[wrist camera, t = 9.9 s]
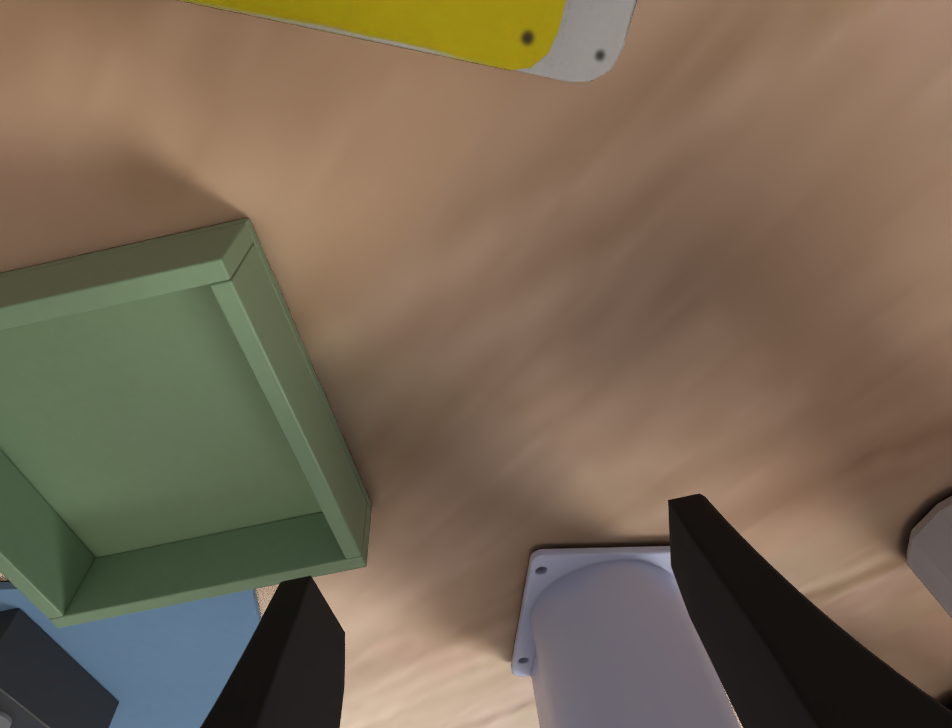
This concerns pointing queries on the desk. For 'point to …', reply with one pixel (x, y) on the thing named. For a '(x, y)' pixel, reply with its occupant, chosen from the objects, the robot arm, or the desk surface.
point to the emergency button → (471, 29)
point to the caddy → (165, 432)
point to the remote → (46, 681)
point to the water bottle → (934, 552)
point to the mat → (157, 654)
